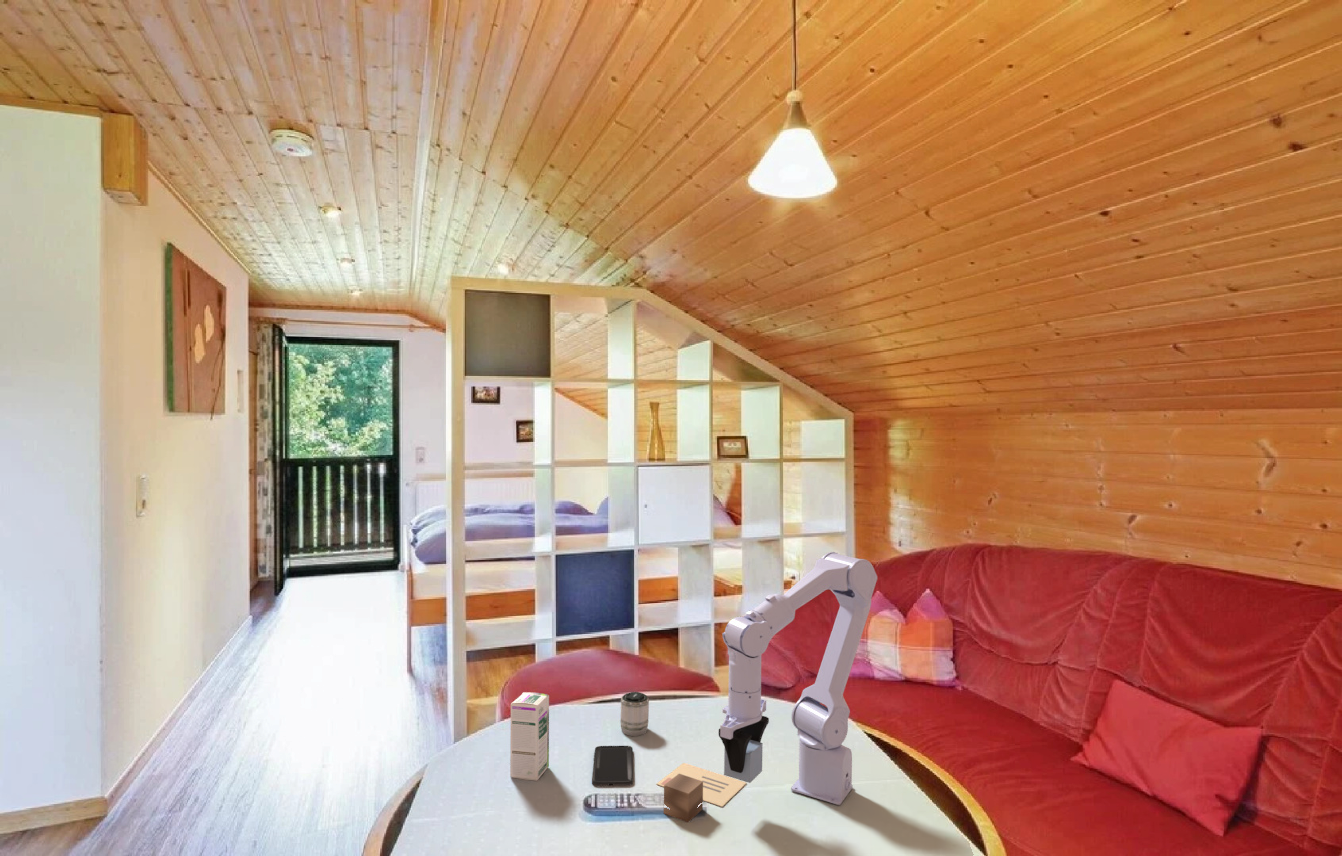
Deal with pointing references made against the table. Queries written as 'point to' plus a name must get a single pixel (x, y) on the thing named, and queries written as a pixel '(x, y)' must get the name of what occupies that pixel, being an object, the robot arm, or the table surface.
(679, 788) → the walnut block
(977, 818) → the table surface
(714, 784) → the envelope
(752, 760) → the cube
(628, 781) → the phone
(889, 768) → the table surface
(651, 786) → the table surface
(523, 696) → the syrup box
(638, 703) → the camera lens
